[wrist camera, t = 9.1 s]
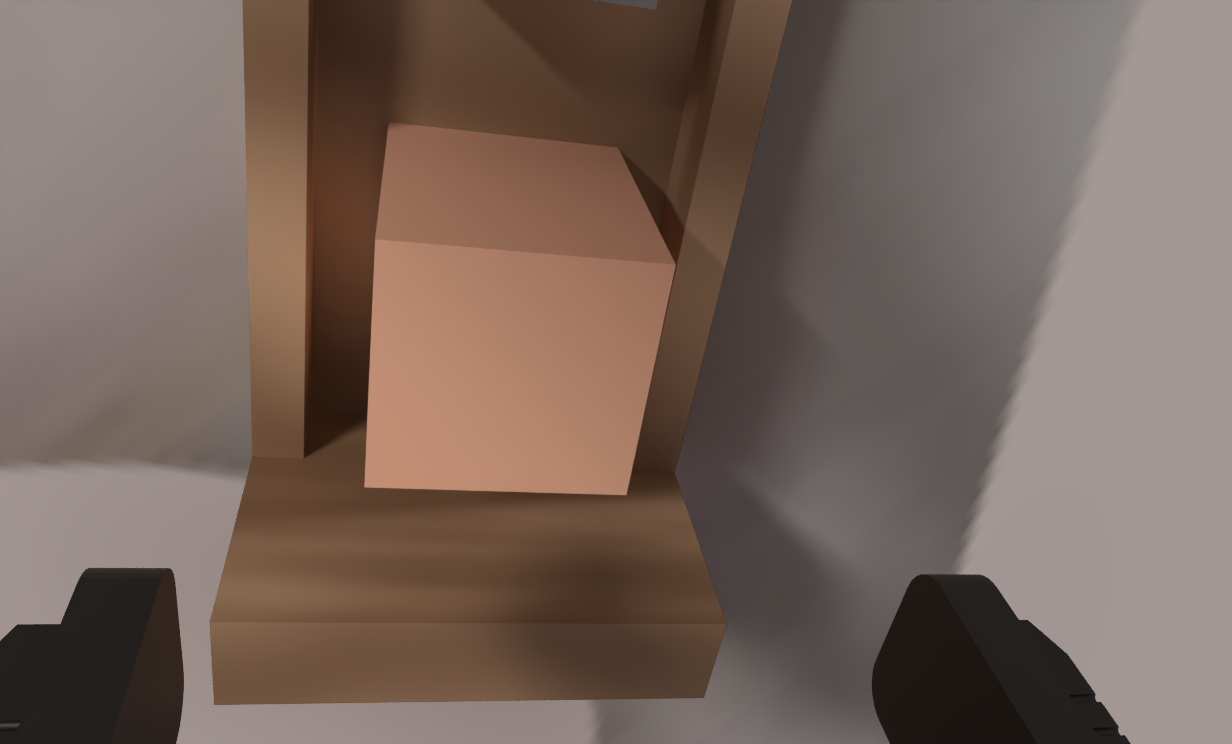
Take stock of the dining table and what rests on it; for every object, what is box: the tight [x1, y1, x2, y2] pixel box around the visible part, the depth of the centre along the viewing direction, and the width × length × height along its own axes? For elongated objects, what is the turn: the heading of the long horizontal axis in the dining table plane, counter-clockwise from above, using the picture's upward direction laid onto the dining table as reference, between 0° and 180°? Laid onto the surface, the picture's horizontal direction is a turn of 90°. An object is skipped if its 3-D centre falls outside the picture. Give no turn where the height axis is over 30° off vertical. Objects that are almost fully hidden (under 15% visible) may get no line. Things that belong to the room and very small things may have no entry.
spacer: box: [364, 122, 676, 495], centre depth 18 cm, size 4×4×6 cm
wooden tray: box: [210, 0, 792, 705], centre depth 16 cm, size 20×9×8 cm, turn 170°
